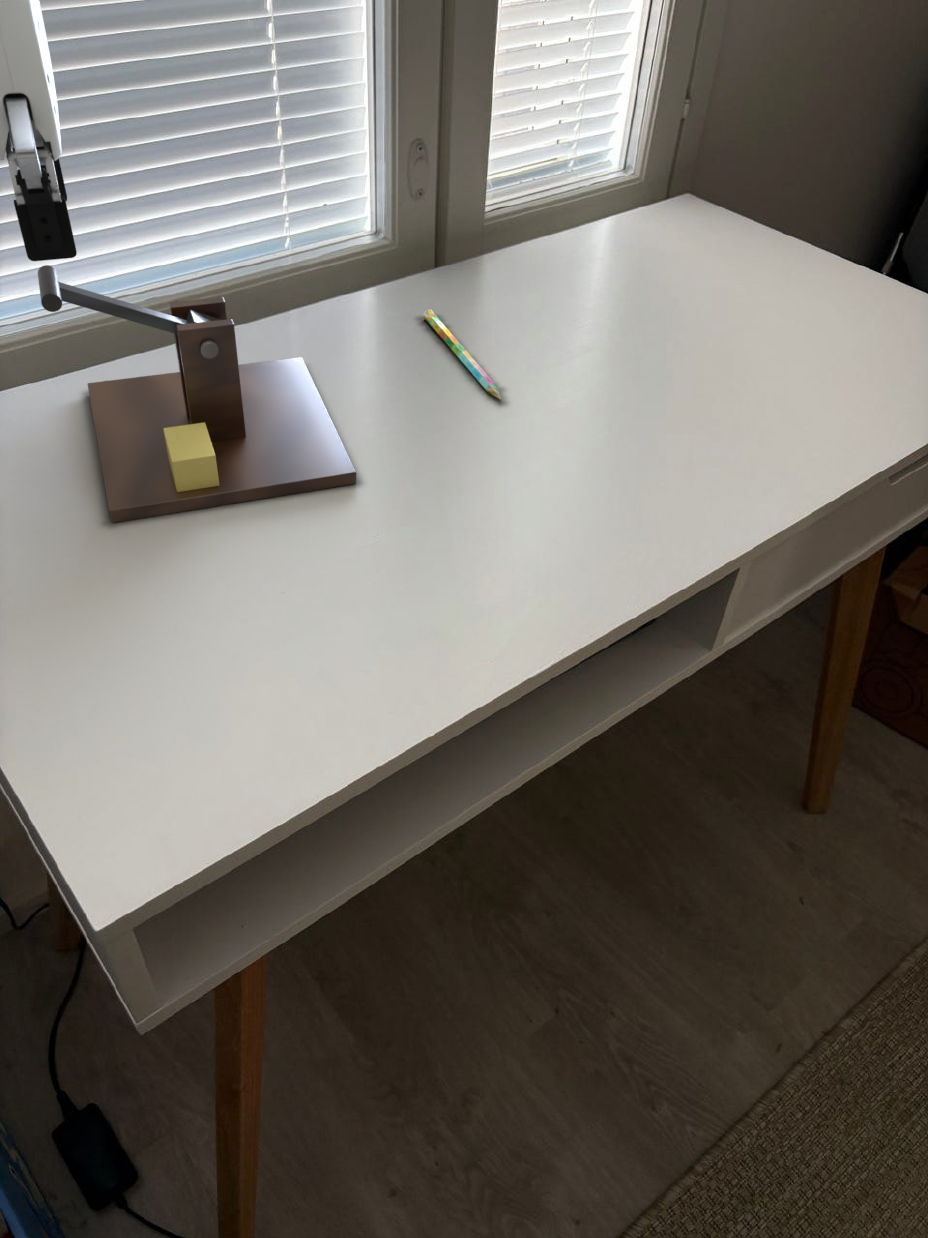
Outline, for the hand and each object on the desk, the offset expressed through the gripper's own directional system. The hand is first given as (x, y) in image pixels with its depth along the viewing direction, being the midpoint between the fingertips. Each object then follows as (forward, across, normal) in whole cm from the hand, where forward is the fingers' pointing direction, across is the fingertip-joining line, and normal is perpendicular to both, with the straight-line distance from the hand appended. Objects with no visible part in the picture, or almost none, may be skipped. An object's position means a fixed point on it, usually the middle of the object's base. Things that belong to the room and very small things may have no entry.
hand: (49, 228), depth 73 cm
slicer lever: (+8, -1, +4) cm, 9 cm away
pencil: (+20, -9, +36) cm, 42 cm away
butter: (+18, +6, +7) cm, 21 cm away
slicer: (+20, -1, +10) cm, 22 cm away
